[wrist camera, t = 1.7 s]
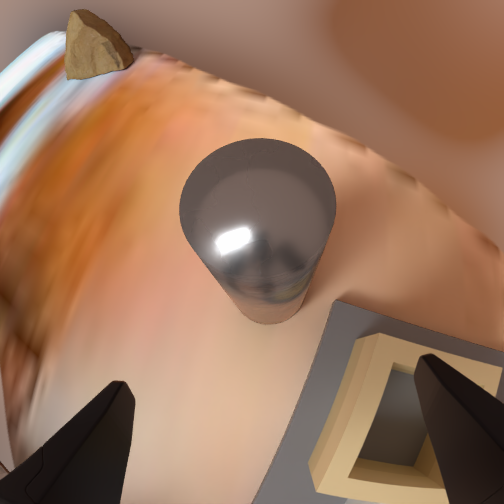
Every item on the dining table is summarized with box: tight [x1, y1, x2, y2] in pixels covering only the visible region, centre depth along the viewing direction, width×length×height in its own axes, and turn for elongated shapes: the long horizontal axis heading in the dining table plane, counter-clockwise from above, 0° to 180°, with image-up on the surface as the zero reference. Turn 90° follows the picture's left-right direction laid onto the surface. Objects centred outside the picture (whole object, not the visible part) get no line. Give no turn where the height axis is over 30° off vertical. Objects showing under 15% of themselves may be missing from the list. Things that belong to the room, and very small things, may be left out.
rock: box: [64, 9, 134, 80], centre depth 30 cm, size 11×9×10 cm
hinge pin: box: [179, 138, 336, 324], centre depth 16 cm, size 5×5×12 cm
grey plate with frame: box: [251, 300, 504, 504], centre depth 13 cm, size 19×19×6 cm
